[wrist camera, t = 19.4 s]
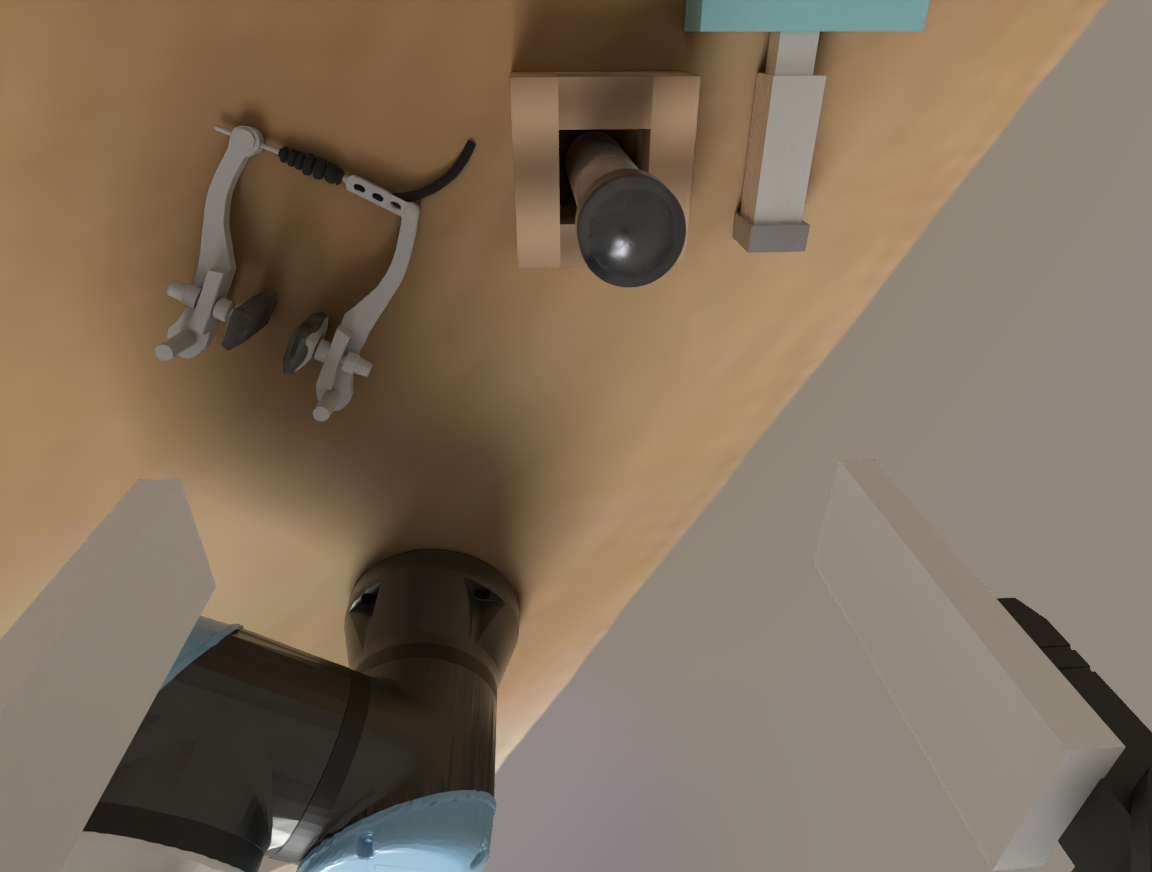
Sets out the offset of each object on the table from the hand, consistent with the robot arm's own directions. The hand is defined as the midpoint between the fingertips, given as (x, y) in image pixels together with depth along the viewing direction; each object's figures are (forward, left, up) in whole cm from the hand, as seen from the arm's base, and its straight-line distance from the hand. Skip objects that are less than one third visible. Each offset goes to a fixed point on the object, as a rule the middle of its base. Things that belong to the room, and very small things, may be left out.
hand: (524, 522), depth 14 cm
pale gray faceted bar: (+4, -16, -33) cm, 37 cm away
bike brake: (-3, +13, -34) cm, 36 cm away
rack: (+2, -5, -33) cm, 34 cm away
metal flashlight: (+2, -5, -33) cm, 34 cm away
